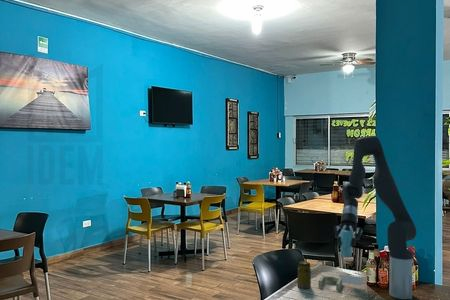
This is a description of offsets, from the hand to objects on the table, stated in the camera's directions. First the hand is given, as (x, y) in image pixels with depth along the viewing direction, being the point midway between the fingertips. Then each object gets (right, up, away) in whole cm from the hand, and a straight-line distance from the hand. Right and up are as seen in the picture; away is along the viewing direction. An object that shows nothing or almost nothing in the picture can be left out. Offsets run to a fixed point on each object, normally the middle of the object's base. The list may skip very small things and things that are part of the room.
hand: (346, 245), depth 192 cm
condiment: (-21, -18, -8) cm, 29 cm away
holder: (-9, -18, -5) cm, 21 cm away
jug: (0, -5, +1) cm, 5 cm away
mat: (+3, -18, +4) cm, 19 cm away
